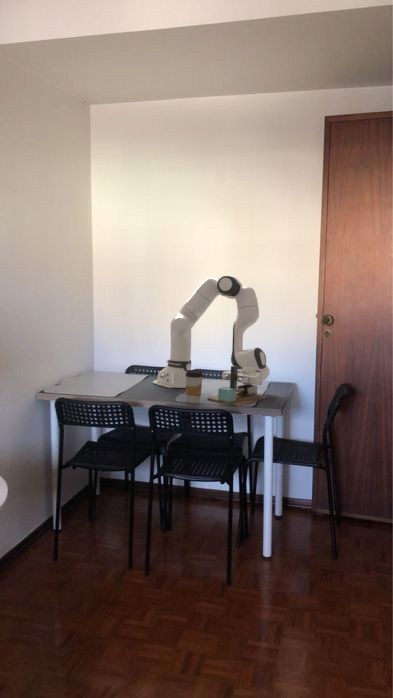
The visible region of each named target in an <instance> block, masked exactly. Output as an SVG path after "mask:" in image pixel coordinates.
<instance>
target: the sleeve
mask: <svg viewBox="0 0 393 698" xmlns="http://www.w3.org/2000/svg"><path fill="white" fill-rule="evenodd" d="M240 388H244V389H245V393H244V394H241V395H240V396H245V397H249V396H253V395H258V385H255V384H252V385H245V384H241V385H237V389H240Z"/></svg>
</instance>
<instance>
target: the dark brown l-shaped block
mask: <svg viewBox="0 0 393 698" xmlns="http://www.w3.org/2000/svg"><path fill="white" fill-rule="evenodd" d="M230 371H231V375H230V380H229V388H233V389H236V396H237V395H241V394H244V393H245V389H244V388H240V389H237V386H238V381H237V372H239V370H238V366H233V365H231V366H230Z"/></svg>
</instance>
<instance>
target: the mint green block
mask: <svg viewBox="0 0 393 698" xmlns="http://www.w3.org/2000/svg"><path fill="white" fill-rule="evenodd" d="M217 396H218V400H223V401H228V402H232V401H235V400H236V389H233V388H230V387H228V386H222V387H219V388H218V394H217Z"/></svg>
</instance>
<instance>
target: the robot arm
mask: <svg viewBox="0 0 393 698" xmlns="http://www.w3.org/2000/svg"><path fill="white" fill-rule="evenodd" d="M218 296H222V297H225V298H227V299H231V300H235V302H236V308H237V309H236V310H237V315H236V319H235V321H234V322H233V326H232V343H231V344H232V347H231V348H232V349H231V356H230V363H231V366H238V372H237V383H240V384H241V383H242V385H255V386H262V385H263V382H264V381H265V380H267V379H268V378H269V376H270V373H271V372H270V371H271V370H270V368H269V366H268V365H267V357H266V353H265V352H264V350H262V349H261V348H260V347H252V348H248V349H243V346H244V345H243V342H244V341H243V339H244V335H245V332H246V331H247V330H248V329H249V328H250V327H251V326H253V325H254V324H255V323H257V321H258V319H259V317H260V309H259V302H258V298H257V294H256V291H255V289H254V288H253V287H250V286H243V284H242V283H241V282H240V281H239V279H238V278H236V277H234V276H232V275H229V274H225V275H223V276H221V277H219V278H218V279H217V278H215V277H212V276H211V277H210V276H209V277H207V278H205V280H203V281H201V283H200V284H199V285H198V286H197V288H196V289H195V290H194V292H193V293H192V294H191V296H190V297H189V298H188V299H187V301H186V302H185V303H184V304H183V306H182V307H181V308H180V310H178V312H177V313H176V315H175V316H174V317H173V318H172V320H171V321H170V358H169V359H167V360H166V363H167V366H165V367H164V368H162V370H160V371H159V372H158V374H157V379H155V380H153V381H152V384H155V385H158V386H161V387H166V388H168V389H169V388H170V389H171V388H173V389H174V388H175V389H176V388H179V389H183V388H185V389H186V373H187V371H188V370H192V360H191V356H192V328H193V327H194V326H195V325H196V323H197V322H198V321H199V320H200V319H201V317H202V316H203V314H204V313H205V312H206V310H207V309H208V308H209V307H210V306H211V305H212V303H213V302H214V301H215V300H216V298H217V297H218ZM230 375H231V370H226V371H223V372H222V375H221V377H222V380H225V381H230Z"/></svg>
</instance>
